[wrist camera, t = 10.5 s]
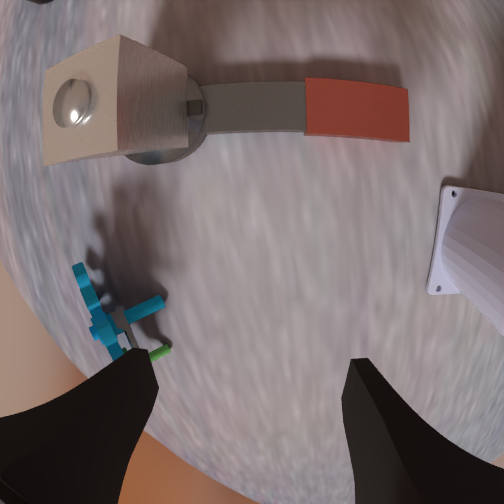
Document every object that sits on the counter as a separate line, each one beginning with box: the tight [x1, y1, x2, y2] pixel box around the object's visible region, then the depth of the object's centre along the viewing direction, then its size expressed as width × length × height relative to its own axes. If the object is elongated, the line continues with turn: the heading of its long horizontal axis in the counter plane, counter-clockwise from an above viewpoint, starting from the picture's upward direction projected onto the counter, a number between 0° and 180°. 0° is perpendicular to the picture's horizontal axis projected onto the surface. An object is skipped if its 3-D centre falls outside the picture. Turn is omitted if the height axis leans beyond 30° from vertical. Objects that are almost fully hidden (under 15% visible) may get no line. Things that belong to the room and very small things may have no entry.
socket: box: [43, 34, 188, 166], centre depth 11 cm, size 5×5×6 cm
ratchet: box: [125, 74, 409, 165], centre depth 13 cm, size 18×6×5 cm, turn 91°
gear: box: [72, 262, 171, 362], centre depth 19 cm, size 11×6×10 cm
